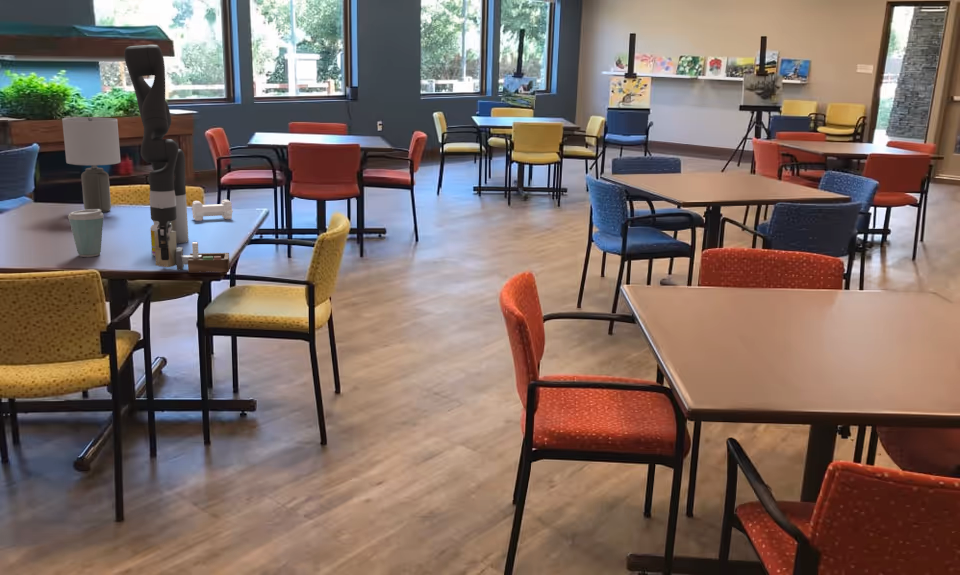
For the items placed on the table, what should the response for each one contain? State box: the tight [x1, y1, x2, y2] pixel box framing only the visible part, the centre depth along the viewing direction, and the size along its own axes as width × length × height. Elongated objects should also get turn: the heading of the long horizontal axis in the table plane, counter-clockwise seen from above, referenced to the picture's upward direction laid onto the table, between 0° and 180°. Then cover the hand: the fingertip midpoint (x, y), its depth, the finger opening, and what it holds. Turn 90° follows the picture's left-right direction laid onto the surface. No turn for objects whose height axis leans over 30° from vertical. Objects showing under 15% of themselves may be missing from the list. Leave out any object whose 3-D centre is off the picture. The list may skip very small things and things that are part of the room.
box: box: [154, 230, 177, 268], centre depth 250 cm, size 5×4×11 cm
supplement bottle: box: [149, 220, 159, 257], centre depth 268 cm, size 7×7×13 cm
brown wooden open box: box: [187, 252, 230, 274], centre depth 254 cm, size 9×12×5 cm
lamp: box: [61, 116, 122, 214], centre depth 331 cm, size 20×20×39 cm
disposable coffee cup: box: [67, 209, 104, 258], centre depth 263 cm, size 11×11×15 cm
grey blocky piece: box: [175, 241, 202, 271], centre depth 252 cm, size 6×7×8 cm
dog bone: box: [191, 199, 234, 222], centre depth 329 cm, size 15×9×8 cm, turn 120°
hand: (166, 257), depth 251 cm, fingers closed on box, 6 cm apart
